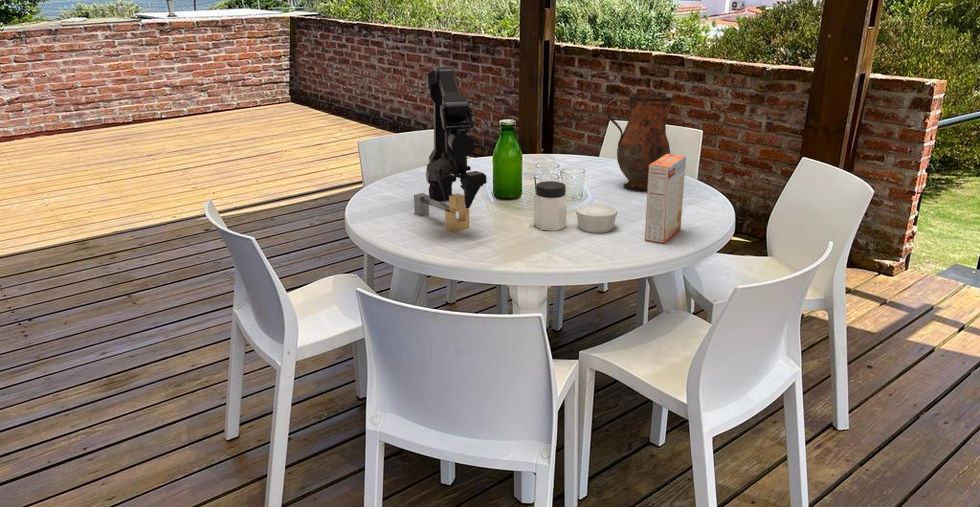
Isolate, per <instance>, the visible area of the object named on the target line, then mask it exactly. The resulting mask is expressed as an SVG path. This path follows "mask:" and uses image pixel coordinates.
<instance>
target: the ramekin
mask: <svg viewBox="0 0 980 507" xmlns="http://www.w3.org/2000/svg"><path fill="white" fill-rule="evenodd" d="M575 214H576V218H577V225H578V227H579V228H580V230H582V231H583V232H587V233H594V234H595V233H596V234H598V233H599V234H600V233H606V232H607V233H608V232H610V231H611V230H613V228H614V226H615V221H616V218H617V215H618V209H617V208H615V207H613V206H610V205H607V204H606V205H605V204H585V205H581V206H578V207H577V208H576V209H575Z"/></svg>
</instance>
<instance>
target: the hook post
mask: <svg viewBox="0 0 980 507" xmlns="http://www.w3.org/2000/svg"><path fill="white" fill-rule="evenodd" d="M413 203H414V204H413V206H414V211H413V212H414V215H416V216H417V217H421V218H422V217H425V216H429V215H430V206H432V207H434V208H437V209H440V210H442V211H445V210H450V209H449V204H447V203H444V202H443V201H436V200H433V199H431V198H429V194H426V193H423V192H421V193H417V194H413Z"/></svg>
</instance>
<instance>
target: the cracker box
mask: <svg viewBox="0 0 980 507" xmlns="http://www.w3.org/2000/svg"><path fill="white" fill-rule="evenodd" d="M686 160H687V156H686V155H681V154H679V155H678V154H674V153H673V154H672V153H671V154H666V155H664V156H662V157H661V158H659V159H658V160H656V161H655V162H653V163H651V164H650V165H649V171H648V189H647V192H646V208H645V210H646V211H645V228H644V241H645V242H652V243H660V244H666V243H667V242H668V241H669V240H670V239H671V238H672V237H673V236H675V235H676V234H677V233H678V232H679V231H680V230H681V229H682V228H681V227H682V218H683V217H682V216H683V201H684V191H685V190H684V189H685V188H684V187H685V175H686V165H687V164H686V163H687V162H686Z"/></svg>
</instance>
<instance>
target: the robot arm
mask: <svg viewBox="0 0 980 507" xmlns="http://www.w3.org/2000/svg"><path fill="white" fill-rule="evenodd" d="M457 76H458V75H457V72H456V71H455V69H454V67H452V66H451V67H450V66H447V67H445V66H444V67H437V68H435V69H434V70H432V71H430V72H428V73H427V74H426V76H425V87H426V88H425V89H426V90H427V93H428V95H429V97H430V98H431V100H432V101H433V150H432V152H431V153H430V155H429V156H428V163H427V164H426V171H425V179H426V182H427V184H429V186H428V196H429V198H431V199H433V200H436V201H439V202H448V201H449V195H453V183H456V181H457V179H459V182H460V183H461V185H460V184H459V187H460V188H461V189H462V190H463V195H464V198H465V207H466V208H467V209H468V208H469V209H470V208H471V206H472V204H473V202H474V199H476V196H477V193H478V192H479V190H480V189H481V187H483V186H484V185H485V184H487V175H486V174H485V173H484V172H481V171H477V170H474V171H473V170H472V169H471V165H468V157H469V156H471V153H472V152H473V150H474V147H475V142H474V140H473V138H472V137H471V135H469V132H468V130H469V129H474V125H475V123H476V122H475V116H474V111H473V108H472V107H471V105H472V104H471V103H469V101H468V99H467V97H466V96H465V95H463V94H461V93H460V92H459V87H458V78H457ZM471 170H472V171H471Z"/></svg>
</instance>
